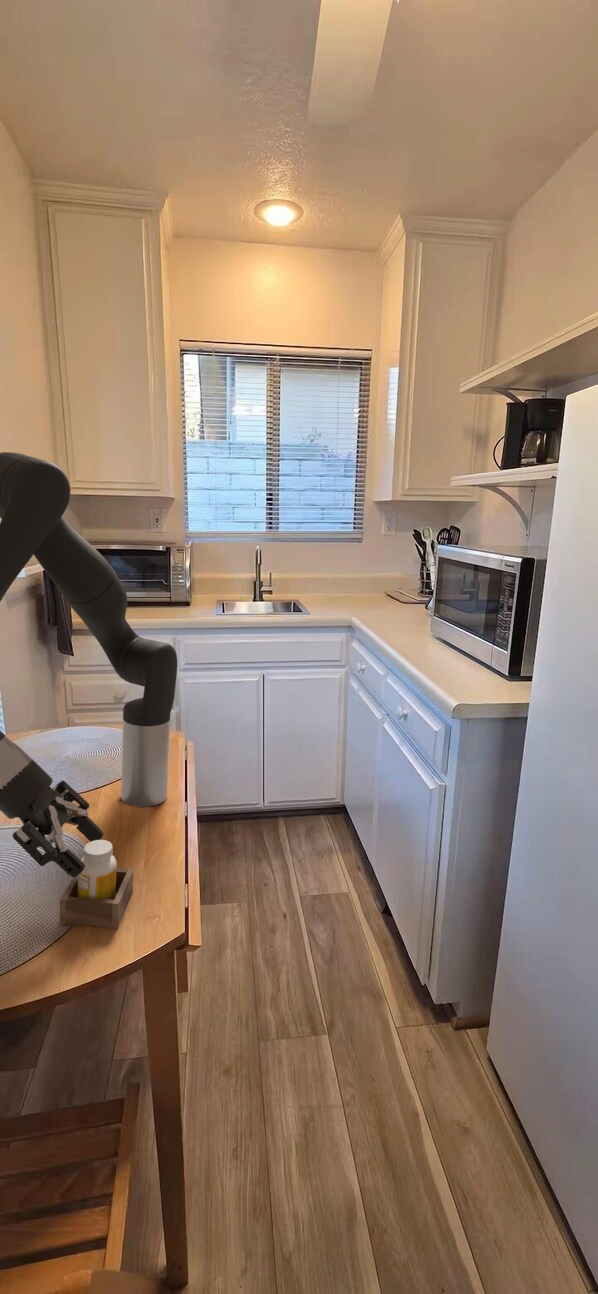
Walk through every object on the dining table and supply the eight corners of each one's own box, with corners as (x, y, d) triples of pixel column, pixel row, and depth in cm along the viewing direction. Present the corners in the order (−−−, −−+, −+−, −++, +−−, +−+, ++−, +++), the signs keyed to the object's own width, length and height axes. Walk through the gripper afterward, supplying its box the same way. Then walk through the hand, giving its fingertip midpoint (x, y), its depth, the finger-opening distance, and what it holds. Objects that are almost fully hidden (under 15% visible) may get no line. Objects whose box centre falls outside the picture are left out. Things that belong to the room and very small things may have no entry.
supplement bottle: (72, 916, 85) (73, 856, 83) (82, 892, 91) (83, 836, 89) (110, 917, 86) (112, 858, 84) (118, 893, 91) (120, 837, 89)
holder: (79, 888, 92) (80, 865, 91) (132, 892, 92) (133, 869, 92) (59, 924, 84) (59, 899, 83) (117, 928, 84) (118, 903, 84)
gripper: (4, 783, 76) (93, 869, 79) (47, 741, 90) (122, 815, 93) (-37, 818, 77) (53, 901, 80) (13, 771, 91) (87, 843, 94)
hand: (90, 854), depth 86 cm, fingers open, 8 cm apart
